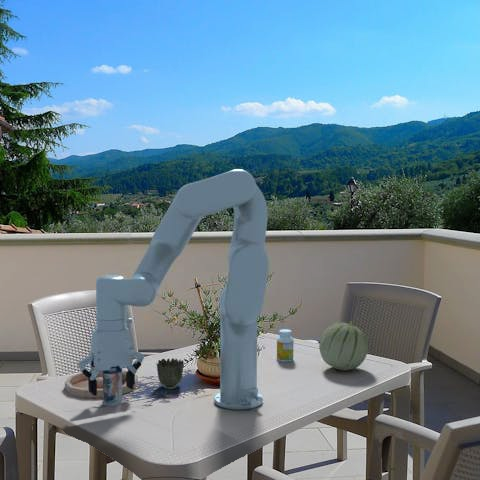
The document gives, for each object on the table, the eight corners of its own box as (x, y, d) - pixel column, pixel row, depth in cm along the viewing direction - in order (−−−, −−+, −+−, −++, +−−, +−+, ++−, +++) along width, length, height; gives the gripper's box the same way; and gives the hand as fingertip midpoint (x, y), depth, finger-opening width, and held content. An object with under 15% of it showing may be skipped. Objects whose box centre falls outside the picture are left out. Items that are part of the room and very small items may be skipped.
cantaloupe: (309, 368, 189) (309, 321, 188) (339, 360, 198) (340, 314, 197) (346, 379, 178) (347, 329, 177) (377, 370, 187) (378, 322, 186)
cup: (179, 395, 164) (178, 366, 163) (153, 393, 165) (152, 364, 164) (187, 386, 171) (186, 358, 170) (161, 384, 172) (161, 357, 172)
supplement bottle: (275, 357, 201) (275, 328, 200) (291, 357, 202) (291, 328, 201) (278, 362, 196) (278, 332, 195) (294, 362, 196) (295, 332, 195)
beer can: (99, 408, 154) (98, 361, 153) (110, 402, 158) (109, 356, 157) (115, 410, 152) (115, 363, 151) (126, 404, 157) (125, 358, 156)
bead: (129, 384, 169) (129, 371, 169) (117, 386, 167) (116, 373, 167) (124, 381, 172) (124, 368, 172) (112, 383, 170) (112, 370, 170)
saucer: (147, 393, 165) (147, 382, 165) (78, 406, 155) (78, 394, 155) (122, 375, 181) (122, 365, 181) (57, 385, 171) (57, 375, 171)
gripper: (138, 318, 161) (138, 381, 163) (73, 325, 152) (73, 392, 153) (149, 323, 155) (149, 389, 156) (82, 331, 146) (83, 401, 147)
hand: (112, 390), depth 155 cm, fingers open, 9 cm apart
